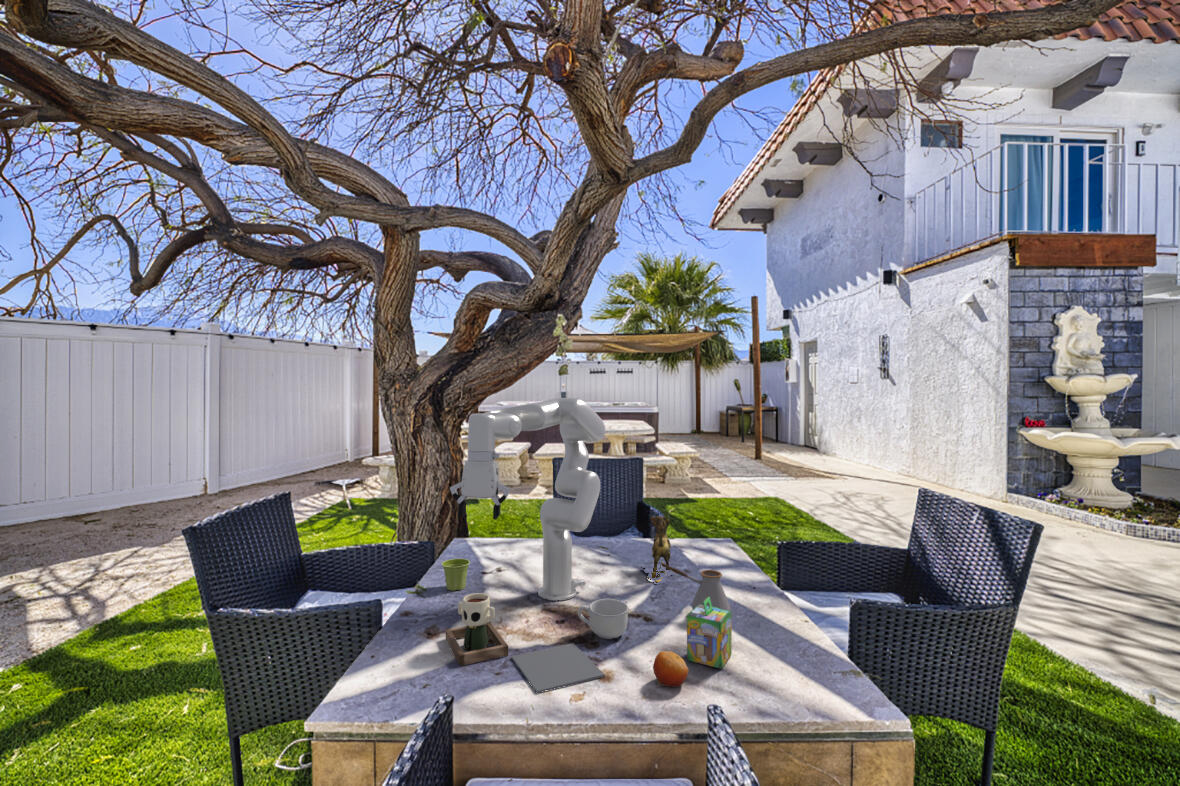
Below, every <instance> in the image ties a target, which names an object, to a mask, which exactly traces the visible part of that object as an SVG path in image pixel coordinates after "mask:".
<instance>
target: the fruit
mask: <svg viewBox="0 0 1180 786" xmlns="http://www.w3.org/2000/svg"><path fill="white" fill-rule="evenodd" d="M652 666H653V667H652V669H653V674H654V676H655V678H656V680H657V681H656V682H657V687H658V688H660V686H665V687H669V688H679V687H681V686H682V685H683V684H684V682H685V680H686V679H687V678H688V673H689V671H690V670H689V667H688V666H687V664H686V662H685V660H684V658H682V657H681V656H680V655H679V654H677V653H675V652H673V651H671V650H669V651H667V650H665V651H660V652H658V653H657V654H656V656H655V658H654V662H653V665H652Z"/></svg>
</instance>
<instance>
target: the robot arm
mask: <svg viewBox="0 0 1180 786" xmlns="http://www.w3.org/2000/svg"><path fill="white" fill-rule="evenodd" d="M557 425H559V432H560V433H559V434H560V435H561V436H560V437H561V438H562V442H563V445H564V455H563V459H562V462H561V465H560V468H559V471H558V473H557V476H556V478H555V479H556V480H555V482H554V483H555V484H554V489H555V491H556V493H557V494H558V495H560V496H562V497H563V496H564V497H567V498H574V499H575V500H572V499H571V500H570V499H566V498H561V497H560V498H559V497H551V498H547V499H546V500H545V501H544V502H543V503H542V505H541V506H540V509H539V510H540V511H539V516H540V522H541V529H542V587H540V588H539V589H538V590H537V594H538V597H540V598H541V599H543V600H546V599H547V600H546V601H555V602H556V601H558V600H559V601H566V600H569V599H573V598H574V597H575V596H576V595H577V588H578V587H583V586H586V581H585V579H579V578H574V579H573V578H572V577H573V573H572V572H573V571H572V570H573V569H572V566H573V540H572V535H571V532H577V533H581V532H583V531H585V530H587V528H588V526H589V525H590V523H591V520H592V517H593V514H594V510H595V509H596V505H597V502H598V499H599V496H600V492H601V480H600V479H601V478H600V476H599V475H598V474H597V472H594V471H592V470H587V468H588V463H589V461H590V456H589V455H590V454H589V451H588V448H587V447H586V444H585V443H598V442H600V441H602V440H603V439H604V437H605V434H606V426H605V422H604V421H603V419H602V418H601V417H600V416H599V415H598V413H597V412H595V411H594V409H592V407H591V406H589V404H588V403H586V402H585V401H584V400H582V399H580V398H575V397H573V398H572V397H571V398H570V397H557V398H555V397H554V398H551V399H547V400H543V401H539V402H534V403H530V404H529V403H528V404H522V405H516V406H511V407H503V408H498V409H494V410H489V411H486V412H483V413H472V414H470V415H469V418H468V430H467V431H468V435H467V461H465V462H464V466H463V470H462V475H461V481H459V482H457V483H456V484H454V485H452V486H449V491H450V493H451V495H452V497H453V499H455V501H456V503H457V504H458V507H457V508H458V510H457V511H458V512H457V514H458V515H459V518H460V519H463V518H464V517H465V516H466V513H467V503H466V501H465V500H467V498H471V499H472V498H473V499H474V498H475V499H491V500H492V501H493V503H494V505H493V507H492V508H493V509H492V510H493V512H492V514H493V515H492V520H494V521H496V520H497V519H499V517H500V516H501V507H502V505H501V504H502V503H503V502H504V501H505V500H507V499H508V496H509V494H510V493H511V489H510V488H509V487H507V486H505V485H504V484H502V483H500V472H499V471H500V469H499V464H498V461H495V460H498V459H500V456H501V455H500V453H497V452H496V449H495V446H496V439H500V440H501V439H502V440H503V439H504V440H509V439H510V440H512V439H515V438H516V437H517V436H519V434H520V433H521V432H523V431H524V432H532V431H540V430H544V429H546V428H549V427H554V426H557ZM460 488H461V489H460ZM457 489H460V493H461V495H460V494H459V493H458V490H457ZM500 491H502V492H503V494H502V496H501V497H500V496H499V494H500Z"/></svg>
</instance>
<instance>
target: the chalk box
mask: <svg viewBox="0 0 1180 786" xmlns="http://www.w3.org/2000/svg"><path fill="white" fill-rule="evenodd" d="M707 603H709V606H706V604H707ZM732 618H733V614H732V611H731V610H730V611H727V610H723V609H720V608H716V607H712V605H711V601H710V597H709V596H708V597H707V598H706V599H705V600H704V601H703V605H698V606H697V607H695V608H694V609H692V610H691V611H690V612H688V614H687V615H686V651H687V652H686V660H687V661H689V662H693V663H697V664H699V665H700V664H701V665H705V666H707V667H708V666H709V667H712V668H717V669H719V670H722V668H723V667H724V665H726V663H727V662H728V661H729V659H730V658H731V657H730V656H732V655H731V654H733V653H732V651H733V649H732V647H733V646H732V643H733V642H732V640H733V638H732V637H733V633H732V631H733V629H732V626H733V623H732Z"/></svg>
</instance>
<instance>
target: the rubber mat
mask: <svg viewBox="0 0 1180 786" xmlns="http://www.w3.org/2000/svg"><path fill="white" fill-rule="evenodd" d="M511 660H512V661H513V663H514V662H515V663H514V664H515V665H516V667H517V666H518V667H517V668H518V670H519V669H520V670H521V671H520V670H519V671H520V672H521V674H522V673H523V674H522V676H523V677H524V676H525V677H526V678H525V677H524V678H525V680H526V681H527V680H528V681H529V682H530V683H529V682H528V681H527V682H528V683H529V684H531V685H532V686H531V685H530V686H531V687H533V688H534V689H533V688H532V689H533V690H534V692H535V691H536V692H537V693H538V694H540V693H539V692H542V691H545V690H550V689H554V688H558V687H562V688H564V687H563V686H566V687H569V686H568V685H570V686H573V685H572V684H574V685H577V684H576V683H578V684H581V682H582V683H586V682H590V681H594V680H598V679H601V678H605V673H604V672H603V671H602V670H601V669H600V668H599V667H598V666H596V664H595V663H594V662H592V660H591V659H590V658H589V657H588V656H587V655H585V653H584V652H582V650H580V648H579V647H578V646H577V645H575V644H574V642H573V643H567V644H563V645H558V646H553V647H548V648H545V649H539V650H535V651H530V652H525V653H521V654H516V655H511ZM597 678H598V679H597ZM589 680H590V681H589ZM585 681H586V682H585ZM558 689H559V688H558ZM554 690H555V689H554ZM550 691H551V690H550ZM536 692H535V693H536ZM537 693H536V694H537ZM542 693H543V692H542Z"/></svg>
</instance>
